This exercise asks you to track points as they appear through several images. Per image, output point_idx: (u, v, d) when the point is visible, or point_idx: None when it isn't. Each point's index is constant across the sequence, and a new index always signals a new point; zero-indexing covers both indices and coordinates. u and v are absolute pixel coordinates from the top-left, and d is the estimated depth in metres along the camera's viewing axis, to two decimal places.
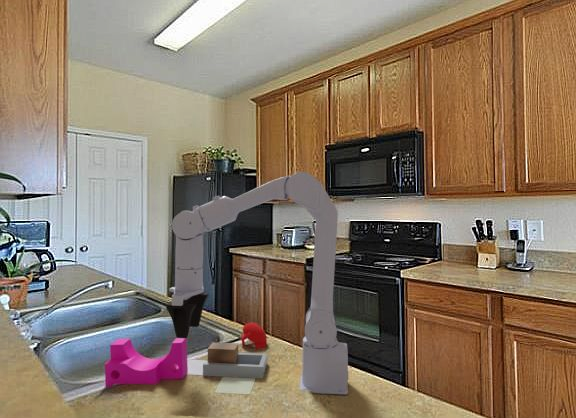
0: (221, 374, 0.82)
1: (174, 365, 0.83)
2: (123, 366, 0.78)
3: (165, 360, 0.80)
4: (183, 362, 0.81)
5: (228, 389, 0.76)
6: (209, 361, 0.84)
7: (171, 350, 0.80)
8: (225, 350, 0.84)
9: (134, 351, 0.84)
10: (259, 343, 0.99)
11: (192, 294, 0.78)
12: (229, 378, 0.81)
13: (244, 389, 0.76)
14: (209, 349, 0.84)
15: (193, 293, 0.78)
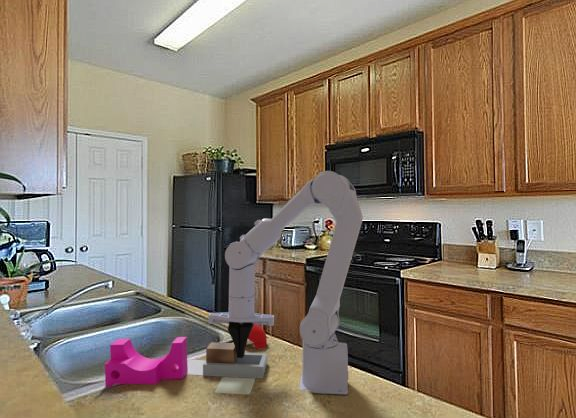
0: (221, 374, 0.82)
1: (174, 365, 0.83)
2: (123, 366, 0.78)
3: (165, 360, 0.80)
4: (183, 362, 0.81)
5: (228, 389, 0.76)
6: (208, 361, 0.84)
7: (171, 350, 0.80)
8: (223, 350, 0.84)
9: (134, 351, 0.84)
10: (259, 343, 0.99)
11: (223, 318, 0.84)
12: (229, 378, 0.81)
13: (244, 389, 0.76)
14: (208, 349, 0.84)
15: (224, 318, 0.84)
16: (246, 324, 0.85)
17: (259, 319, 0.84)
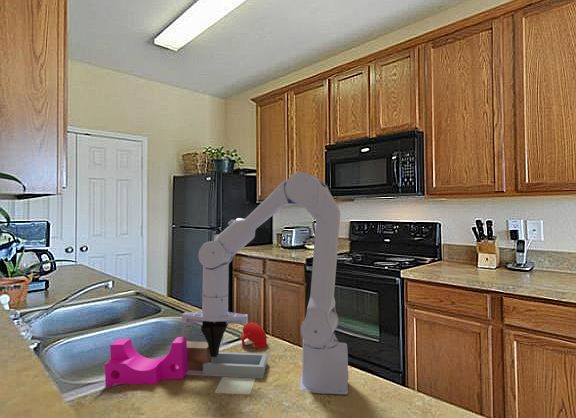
0: (221, 374, 0.82)
1: (174, 365, 0.83)
2: (123, 366, 0.78)
3: (165, 360, 0.80)
4: (183, 362, 0.81)
5: (228, 389, 0.76)
6: None
7: (171, 350, 0.80)
8: (197, 348, 0.85)
9: (134, 351, 0.84)
10: (259, 343, 0.99)
11: (196, 318, 0.85)
12: (229, 378, 0.81)
13: (244, 389, 0.76)
14: None
15: (198, 317, 0.85)
16: (219, 323, 0.85)
17: (232, 318, 0.84)
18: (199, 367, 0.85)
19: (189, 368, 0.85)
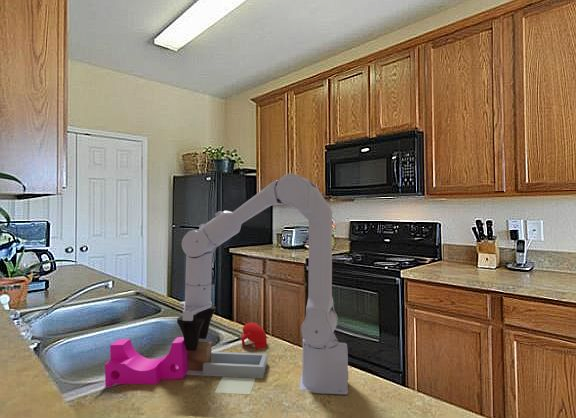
0: (221, 374, 0.82)
1: (174, 365, 0.83)
2: (123, 366, 0.78)
3: (165, 360, 0.80)
4: (182, 362, 0.81)
5: (228, 389, 0.76)
6: None
7: (171, 350, 0.80)
8: (197, 348, 0.85)
9: (134, 351, 0.84)
10: (259, 343, 0.99)
11: (201, 309, 0.83)
12: (229, 378, 0.81)
13: (244, 389, 0.76)
14: None
15: (202, 308, 0.83)
16: None
17: None
18: (199, 367, 0.85)
19: (189, 368, 0.85)
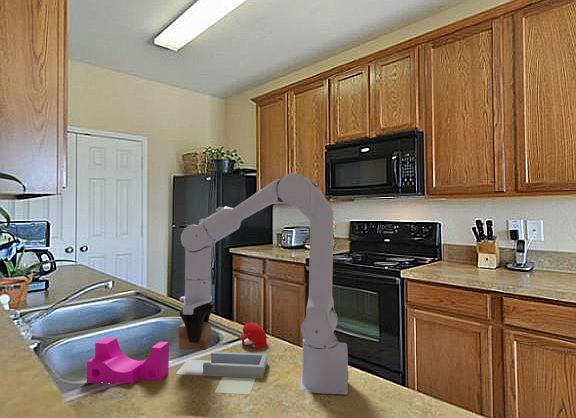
0: (221, 374, 0.82)
1: (155, 369, 0.83)
2: (103, 365, 0.79)
3: (144, 364, 0.80)
4: (161, 367, 0.80)
5: (228, 389, 0.76)
6: (180, 339, 0.85)
7: (150, 354, 0.80)
8: None
9: (119, 351, 0.85)
10: (259, 343, 0.99)
11: (201, 303, 0.83)
12: (229, 378, 0.81)
13: (244, 389, 0.76)
14: (180, 327, 0.85)
15: (202, 302, 0.83)
16: None
17: None
18: (198, 346, 0.84)
19: (188, 347, 0.85)
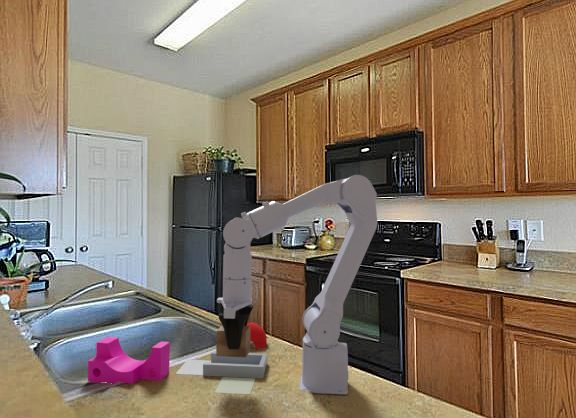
0: (221, 374, 0.82)
1: (156, 369, 0.83)
2: (104, 365, 0.79)
3: (145, 364, 0.80)
4: (162, 367, 0.80)
5: (228, 389, 0.76)
6: (218, 345, 0.76)
7: (151, 354, 0.80)
8: None
9: (120, 350, 0.85)
10: (259, 343, 0.99)
11: (243, 306, 0.74)
12: (229, 378, 0.81)
13: (244, 389, 0.76)
14: (218, 331, 0.76)
15: (244, 304, 0.75)
16: None
17: None
18: (238, 353, 0.76)
19: (227, 354, 0.76)
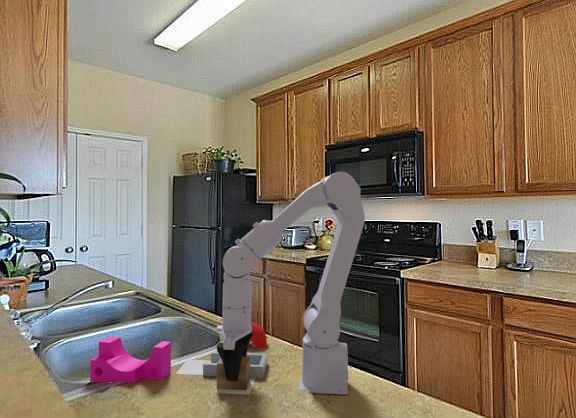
0: None
1: None
2: (106, 364, 0.80)
3: (146, 363, 0.80)
4: (163, 367, 0.80)
5: (228, 389, 0.76)
6: (218, 377, 0.76)
7: (152, 354, 0.80)
8: None
9: (123, 350, 0.85)
10: (259, 343, 0.99)
11: (242, 335, 0.74)
12: None
13: None
14: (218, 364, 0.76)
15: (243, 334, 0.75)
16: None
17: None
18: (238, 386, 0.76)
19: (227, 387, 0.76)
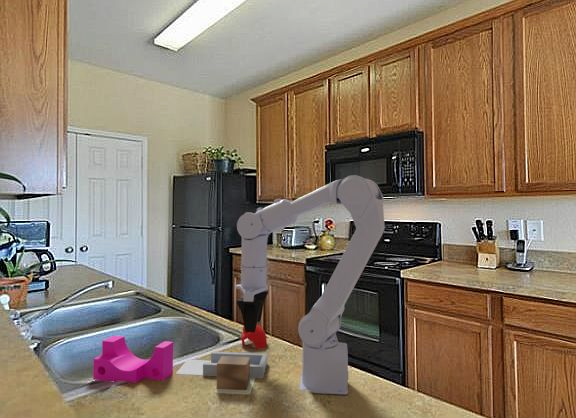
0: None
1: None
2: (109, 363, 0.80)
3: (148, 363, 0.81)
4: (164, 367, 0.80)
5: (228, 389, 0.76)
6: (218, 377, 0.76)
7: (154, 354, 0.80)
8: (236, 365, 0.76)
9: (126, 349, 0.86)
10: (259, 343, 0.99)
11: (260, 291, 0.83)
12: None
13: None
14: (218, 364, 0.76)
15: (260, 290, 0.83)
16: None
17: None
18: (238, 386, 0.76)
19: (227, 387, 0.76)
